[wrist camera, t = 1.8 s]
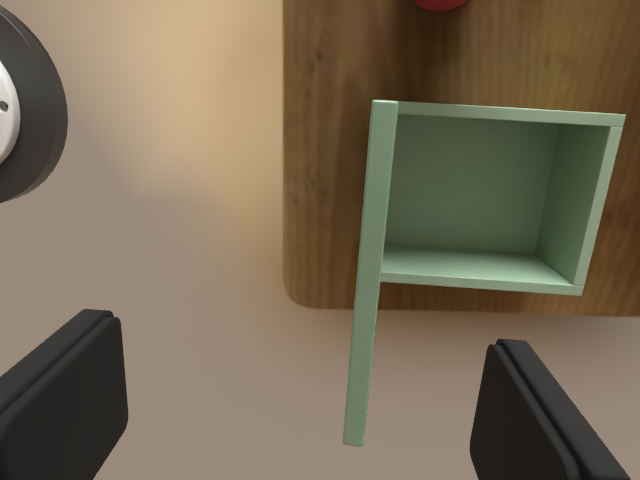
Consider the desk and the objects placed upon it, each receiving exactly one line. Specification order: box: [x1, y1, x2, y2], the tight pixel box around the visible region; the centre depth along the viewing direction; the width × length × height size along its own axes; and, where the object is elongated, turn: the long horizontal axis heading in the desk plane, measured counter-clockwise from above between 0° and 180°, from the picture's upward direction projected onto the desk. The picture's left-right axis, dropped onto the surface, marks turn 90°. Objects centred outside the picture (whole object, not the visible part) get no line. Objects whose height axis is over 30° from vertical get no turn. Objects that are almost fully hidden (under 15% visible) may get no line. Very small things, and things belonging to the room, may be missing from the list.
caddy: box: [380, 101, 626, 296], centre depth 35 cm, size 16×13×8 cm
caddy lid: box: [343, 100, 398, 447], centre depth 23 cm, size 16×13×1 cm
